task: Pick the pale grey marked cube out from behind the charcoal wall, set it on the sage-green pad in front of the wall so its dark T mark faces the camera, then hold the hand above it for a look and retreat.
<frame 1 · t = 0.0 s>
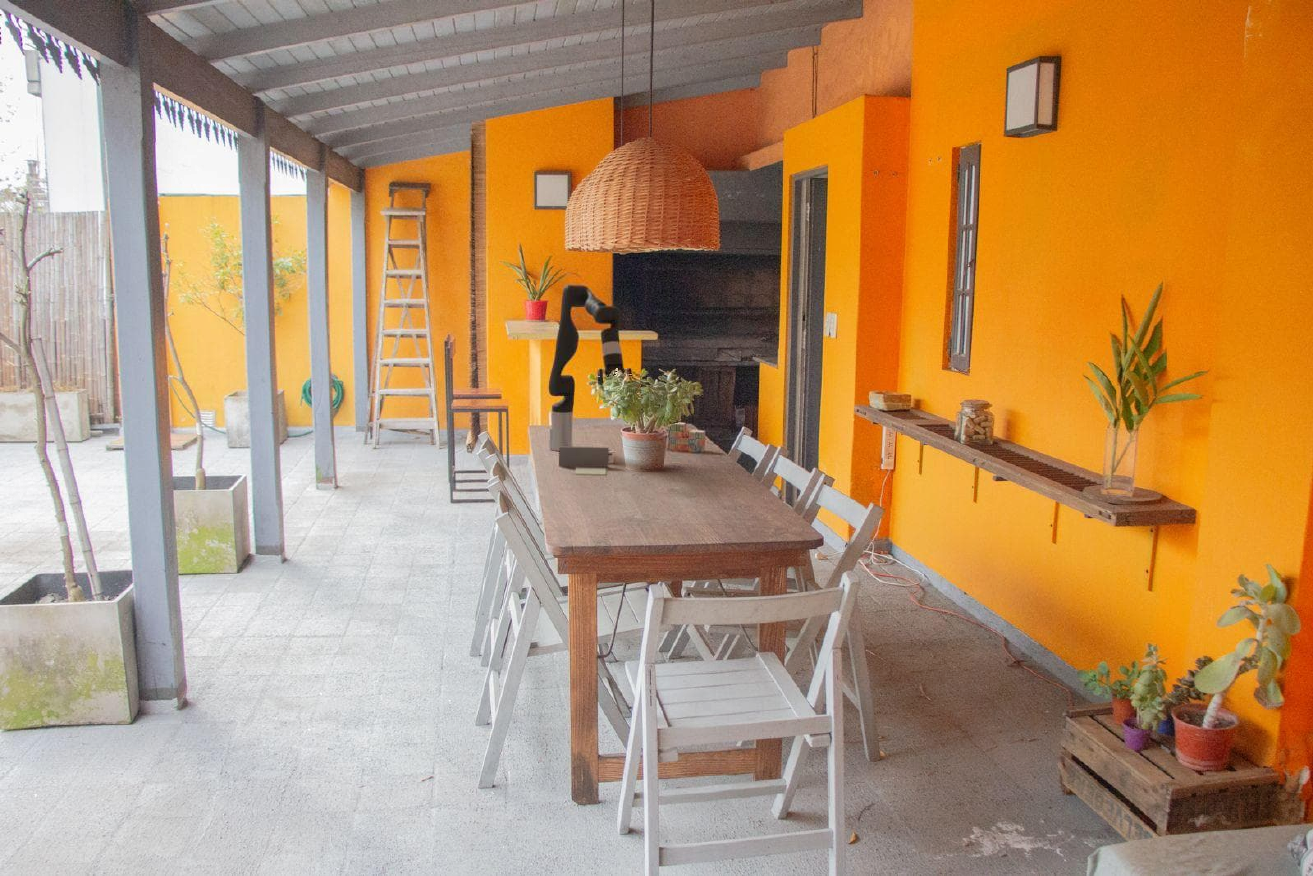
hand: (617, 394, 396), 31 cm above the table, tool tilted 20°, fingers open, 8 cm apart
charcoal wall: (583, 466, 414), on the table
stack of blocks: (680, 450, 461), on the table
marked cube: (607, 462, 424), on the table
sage pad: (590, 471, 403), on the table
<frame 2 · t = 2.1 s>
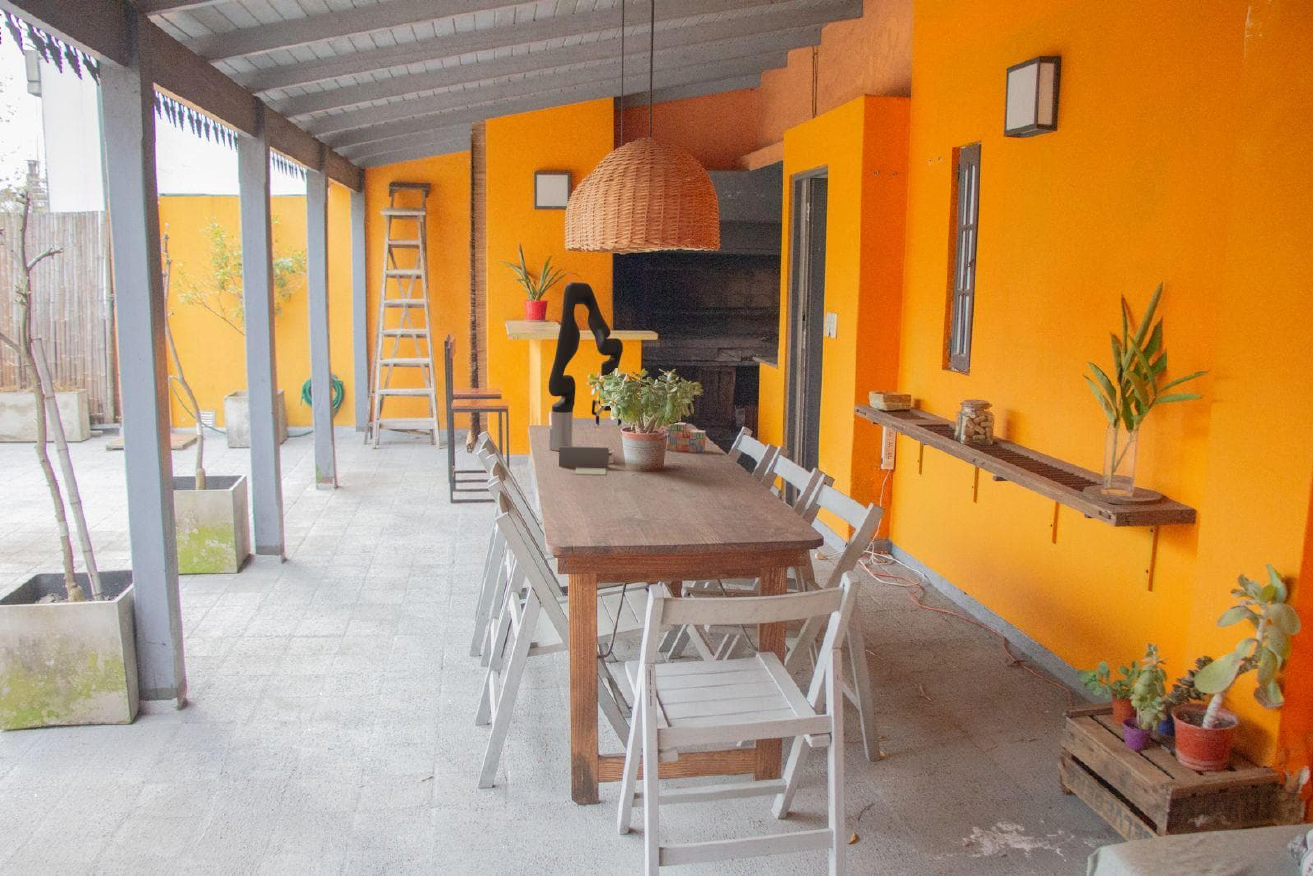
hand: (608, 425, 422), 16 cm above the table, tool pointing down, fingers open, 8 cm apart
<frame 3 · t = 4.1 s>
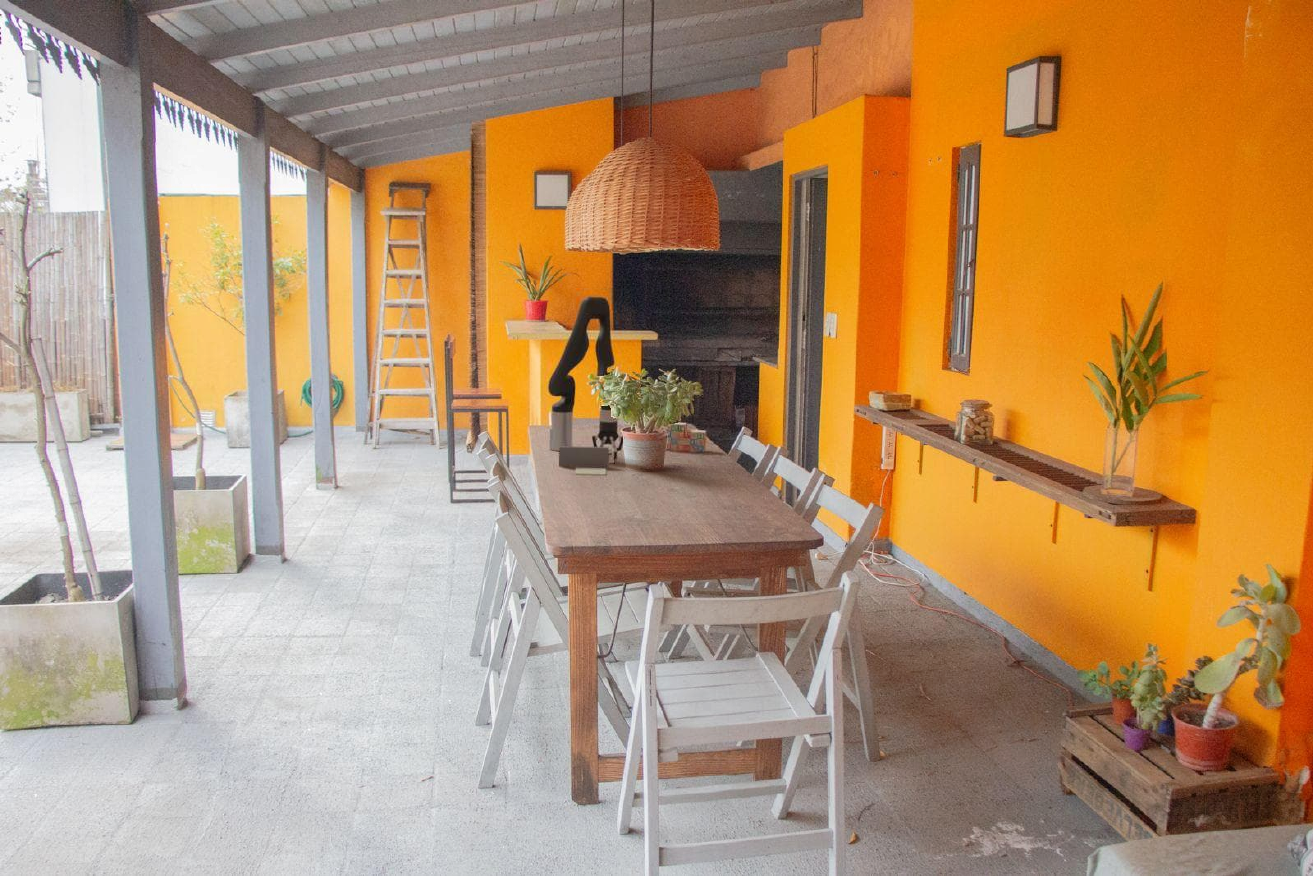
hand: (607, 460, 424), 1 cm above the table, tool pointing down, fingers closed on marked cube, 5 cm apart
marked cube: (607, 462, 425), on the table, touching gripper
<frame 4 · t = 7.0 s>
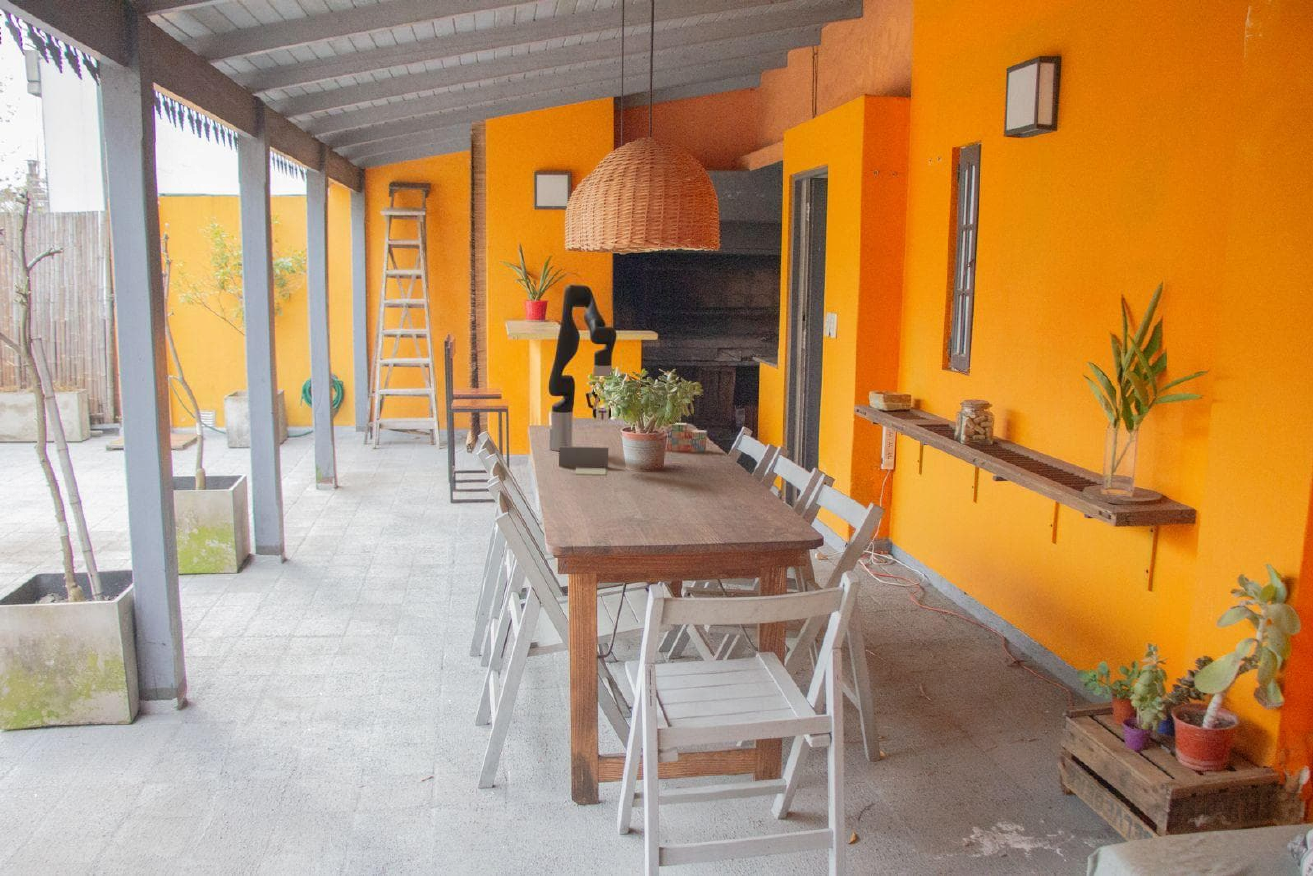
hand: (602, 418, 410), 20 cm above the table, tool pointing down, fingers closed on marked cube, 5 cm apart
marked cube: (602, 420, 410), point 19 cm above the table, touching gripper
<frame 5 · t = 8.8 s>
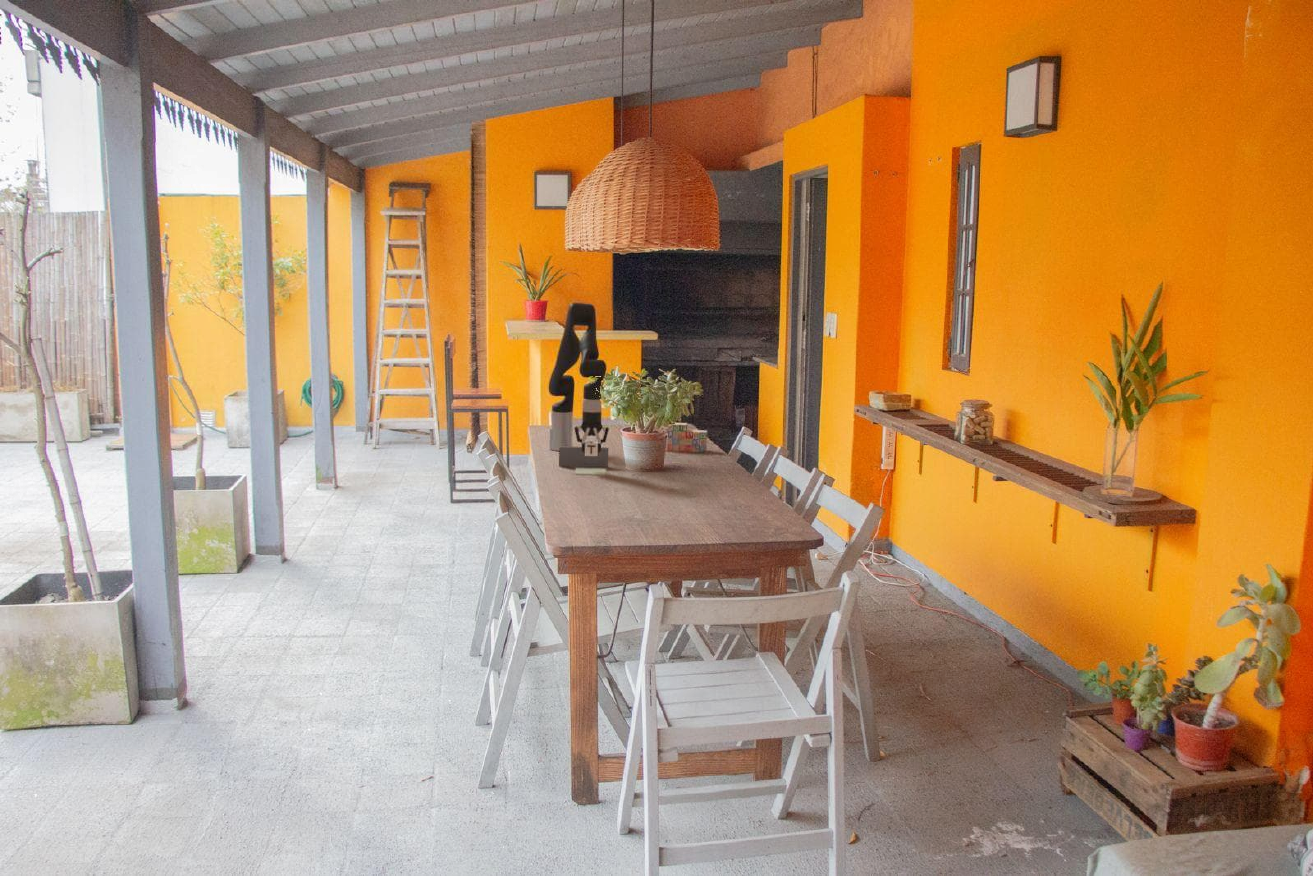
hand: (591, 452, 402), 8 cm above the table, tool pointing down, fingers closed on marked cube, 5 cm apart
marked cube: (591, 454, 402), point 7 cm above the table, touching gripper
when the fingers open (3 cm above the table, at t = 10.3 s): marked cube drops 1 cm, resting on sage pad.
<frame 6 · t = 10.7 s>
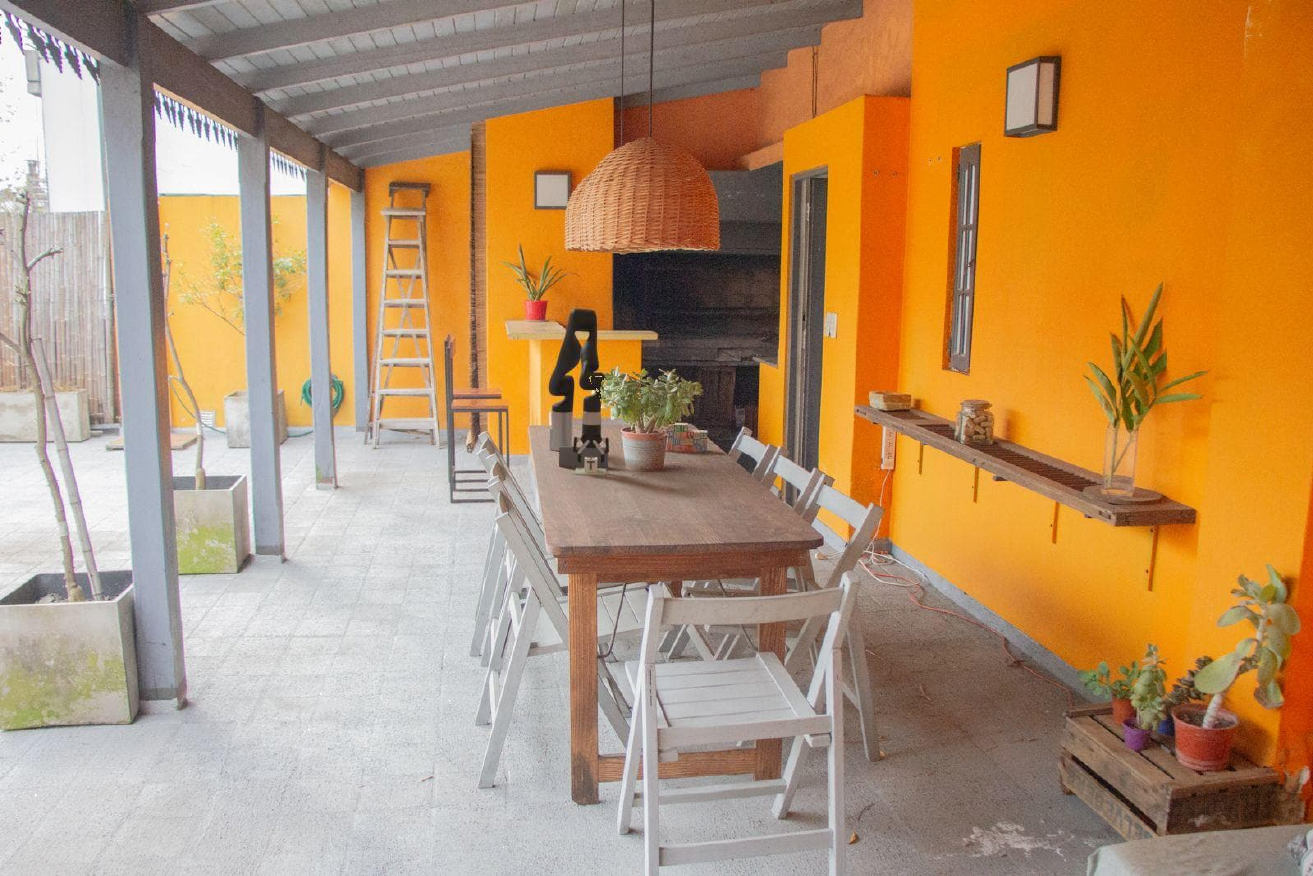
hand: (590, 463, 402), 4 cm above the table, tool pointing down, fingers open, 8 cm apart
marked cube: (590, 470, 403), resting on sage pad
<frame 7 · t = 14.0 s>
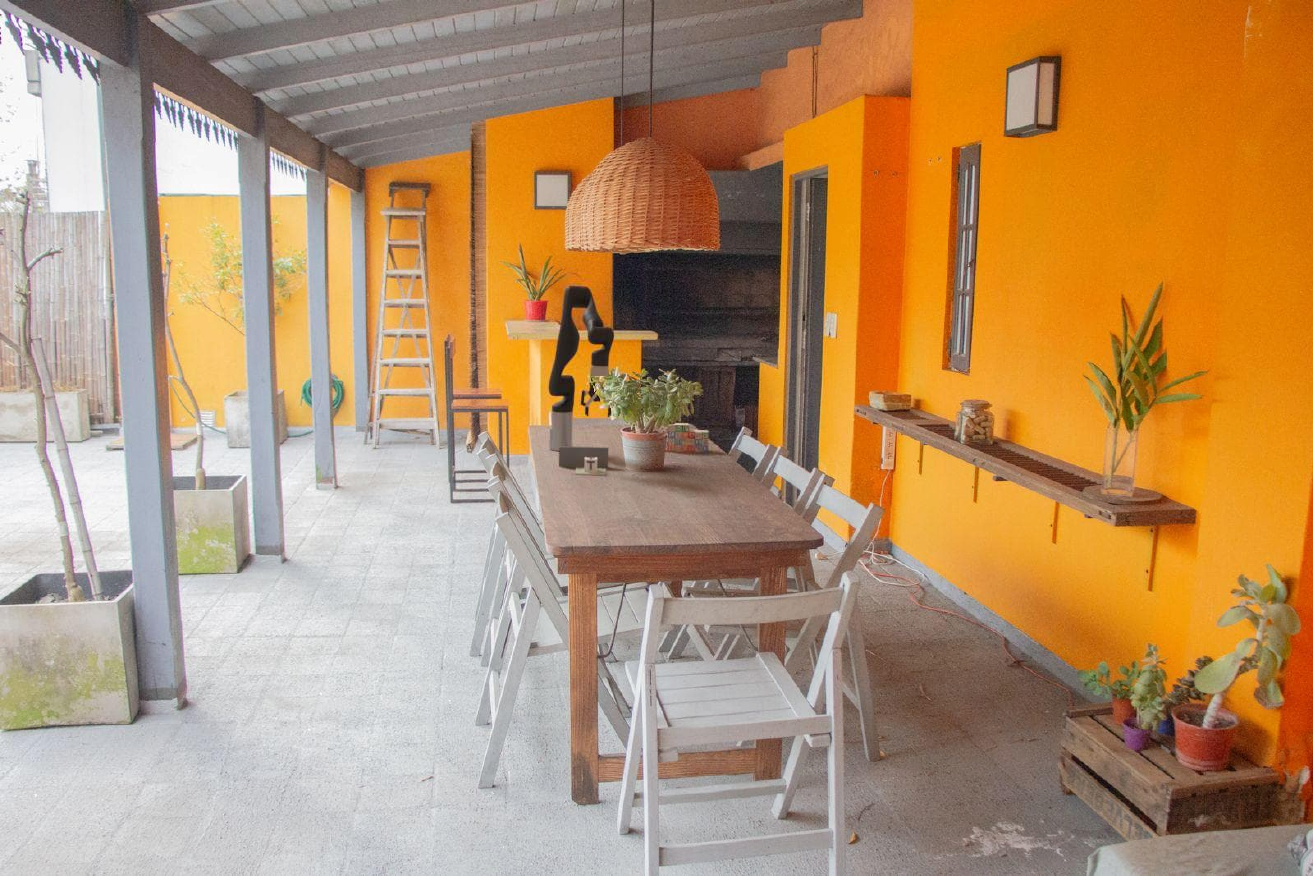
hand: (598, 416, 410), 21 cm above the table, tool pointing down, fingers open, 8 cm apart
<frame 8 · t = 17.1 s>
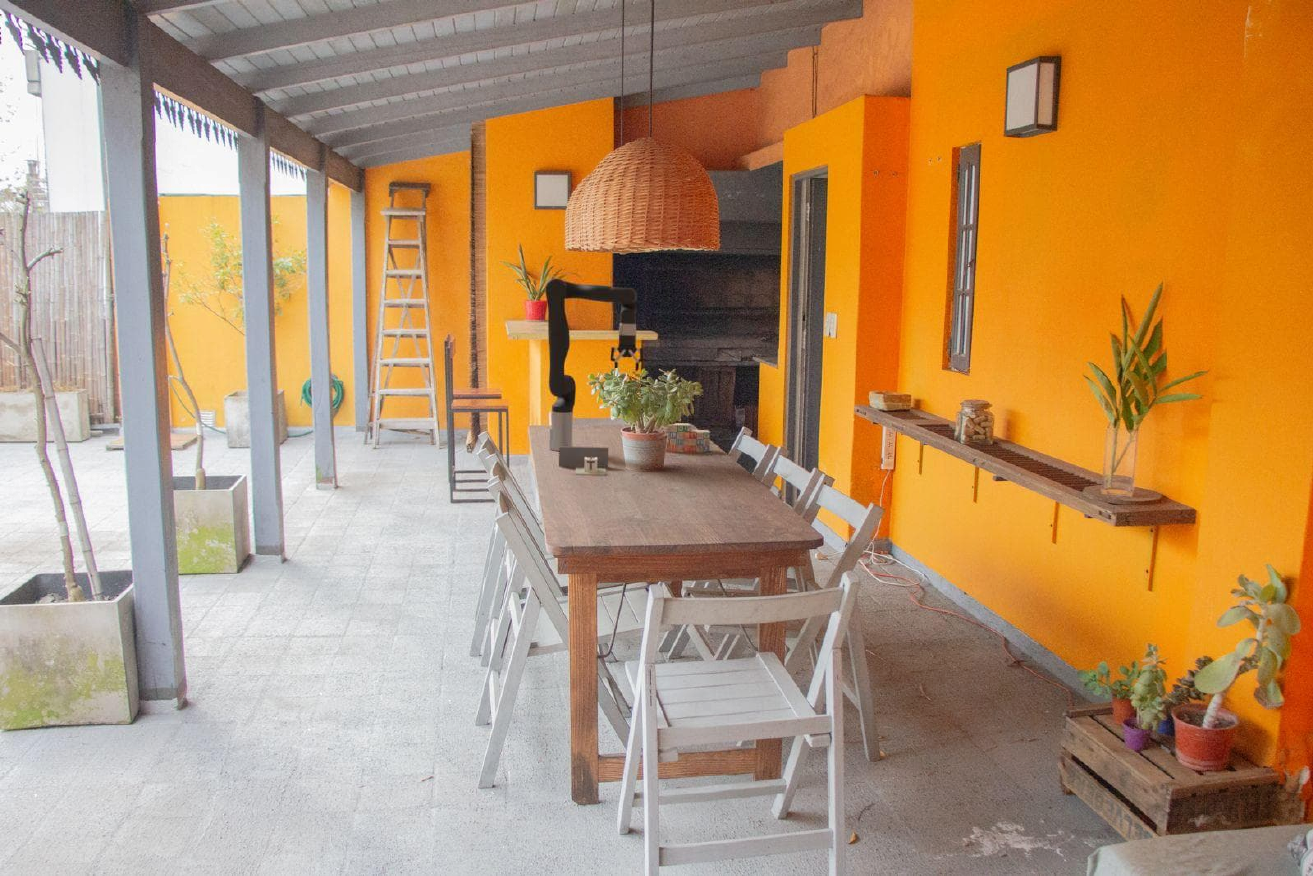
hand: (626, 371, 444), 36 cm above the table, tool pointing down, fingers open, 8 cm apart
at the end: marked cube inside the target area on the sage pad (0.0 cm from its centre), point 0.5 cm above the sage pad's base; marked cube tilted 0°; the gripper is holding nothing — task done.
